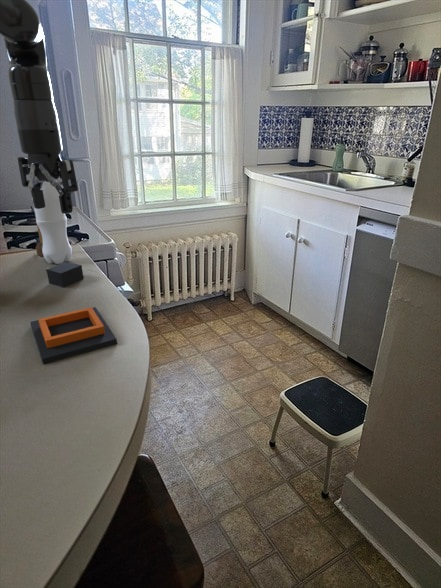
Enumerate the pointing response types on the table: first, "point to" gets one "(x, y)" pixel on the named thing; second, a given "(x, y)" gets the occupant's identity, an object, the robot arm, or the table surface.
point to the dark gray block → (65, 274)
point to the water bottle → (53, 227)
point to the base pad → (71, 334)
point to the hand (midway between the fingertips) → (53, 210)
